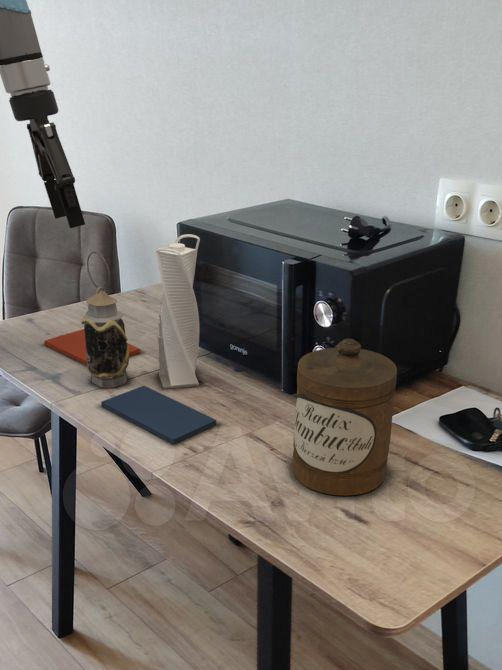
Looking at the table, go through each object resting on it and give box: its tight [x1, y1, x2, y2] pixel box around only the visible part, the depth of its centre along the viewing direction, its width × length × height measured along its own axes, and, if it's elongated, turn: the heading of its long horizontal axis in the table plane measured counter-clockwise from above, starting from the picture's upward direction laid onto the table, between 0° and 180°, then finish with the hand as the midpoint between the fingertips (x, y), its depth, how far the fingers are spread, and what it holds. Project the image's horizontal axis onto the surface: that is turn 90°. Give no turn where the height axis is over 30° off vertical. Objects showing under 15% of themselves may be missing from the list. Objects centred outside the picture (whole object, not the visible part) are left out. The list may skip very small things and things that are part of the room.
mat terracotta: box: [43, 328, 141, 367], centre depth 152 cm, size 18×12×1 cm, turn 48°
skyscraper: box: [155, 233, 201, 390], centre depth 132 cm, size 8×8×28 cm
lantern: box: [80, 251, 130, 389], centre depth 132 cm, size 9×8×25 cm
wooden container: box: [292, 338, 398, 496], centre depth 106 cm, size 15×15×22 cm
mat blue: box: [100, 385, 217, 445], centre depth 126 cm, size 20×10×1 cm, turn 47°
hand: (69, 221), depth 129 cm, fingers open, 13 cm apart
